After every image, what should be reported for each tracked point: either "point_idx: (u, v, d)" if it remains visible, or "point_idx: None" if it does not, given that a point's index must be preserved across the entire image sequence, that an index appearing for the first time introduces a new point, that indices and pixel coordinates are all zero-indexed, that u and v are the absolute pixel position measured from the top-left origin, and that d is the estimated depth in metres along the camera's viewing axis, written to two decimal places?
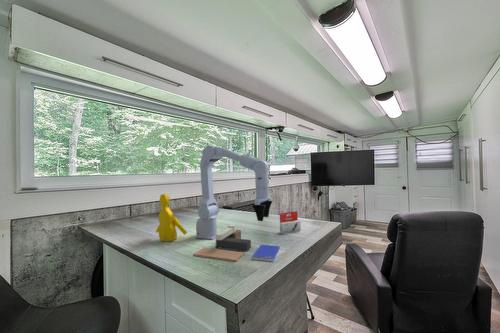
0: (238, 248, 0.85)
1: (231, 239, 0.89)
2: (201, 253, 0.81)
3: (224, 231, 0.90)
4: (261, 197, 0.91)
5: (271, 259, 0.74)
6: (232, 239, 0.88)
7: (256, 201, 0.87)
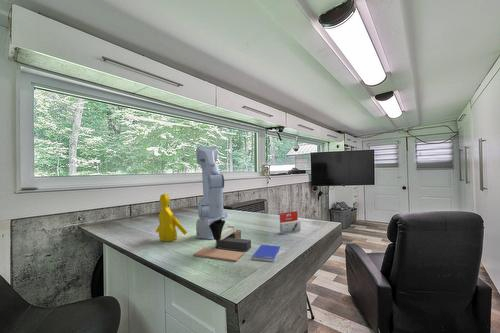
0: (238, 248, 0.85)
1: (231, 239, 0.89)
2: (201, 253, 0.81)
3: (224, 231, 0.90)
4: (213, 216, 0.82)
5: (271, 259, 0.74)
6: (232, 239, 0.88)
7: (205, 221, 0.78)
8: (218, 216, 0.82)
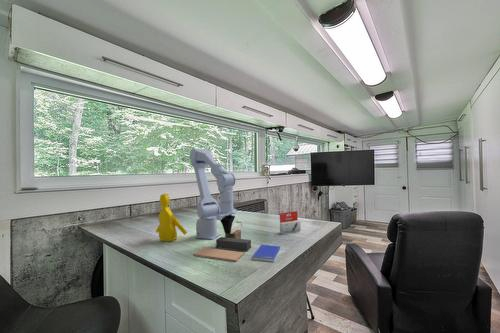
0: (238, 248, 0.85)
1: (231, 239, 0.89)
2: (201, 253, 0.81)
3: (233, 226, 0.98)
4: (224, 211, 0.90)
5: (271, 259, 0.74)
6: (232, 239, 0.88)
7: (218, 216, 0.86)
8: (229, 211, 0.90)
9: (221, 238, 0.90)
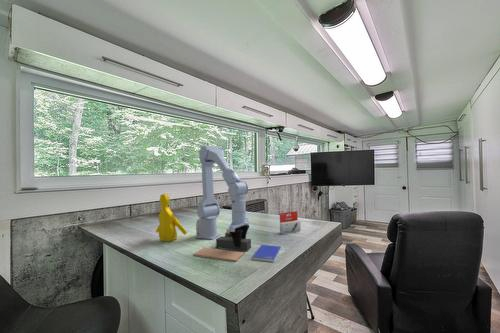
0: (238, 247, 0.85)
1: (231, 238, 0.89)
2: (201, 253, 0.81)
3: None
4: (237, 222, 0.84)
5: (271, 259, 0.73)
6: (232, 239, 0.88)
7: (230, 228, 0.80)
8: (241, 222, 0.85)
9: (221, 237, 0.90)
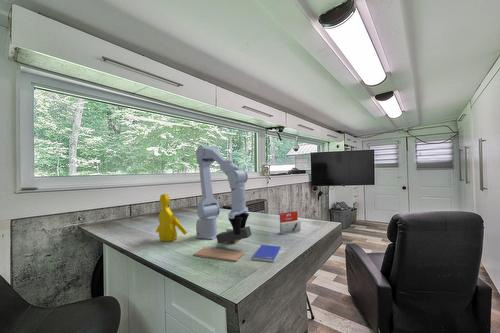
0: (239, 236, 0.85)
1: (231, 231, 0.89)
2: (201, 253, 0.81)
3: None
4: (236, 210, 0.84)
5: (271, 259, 0.73)
6: (231, 231, 0.89)
7: (230, 215, 0.81)
8: (241, 210, 0.85)
9: (221, 233, 0.91)
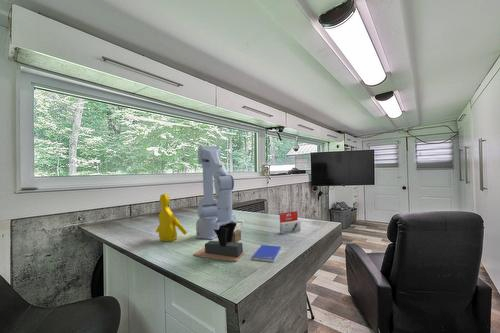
0: (228, 252, 0.78)
1: None
2: (201, 253, 0.81)
3: None
4: (222, 219, 0.78)
5: (271, 259, 0.73)
6: None
7: (214, 225, 0.74)
8: (227, 219, 0.78)
9: (210, 242, 0.83)
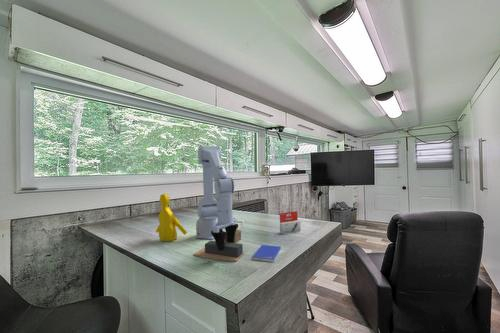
0: (228, 253, 0.78)
1: None
2: (201, 253, 0.81)
3: None
4: (222, 222, 0.78)
5: (271, 260, 0.73)
6: None
7: (214, 228, 0.74)
8: (227, 222, 0.78)
9: (210, 242, 0.83)
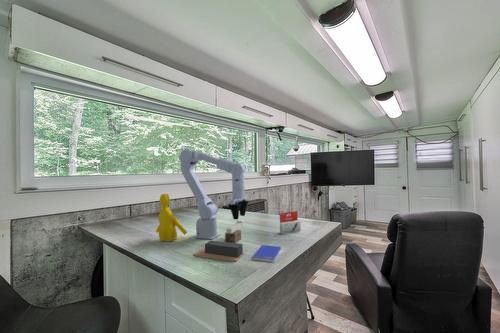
0: (228, 253, 0.78)
1: (221, 243, 0.81)
2: (201, 253, 0.81)
3: (234, 225, 0.98)
4: (237, 197, 0.99)
5: (271, 260, 0.73)
6: (222, 243, 0.81)
7: (231, 201, 0.95)
8: (241, 197, 0.99)
9: (210, 242, 0.83)
